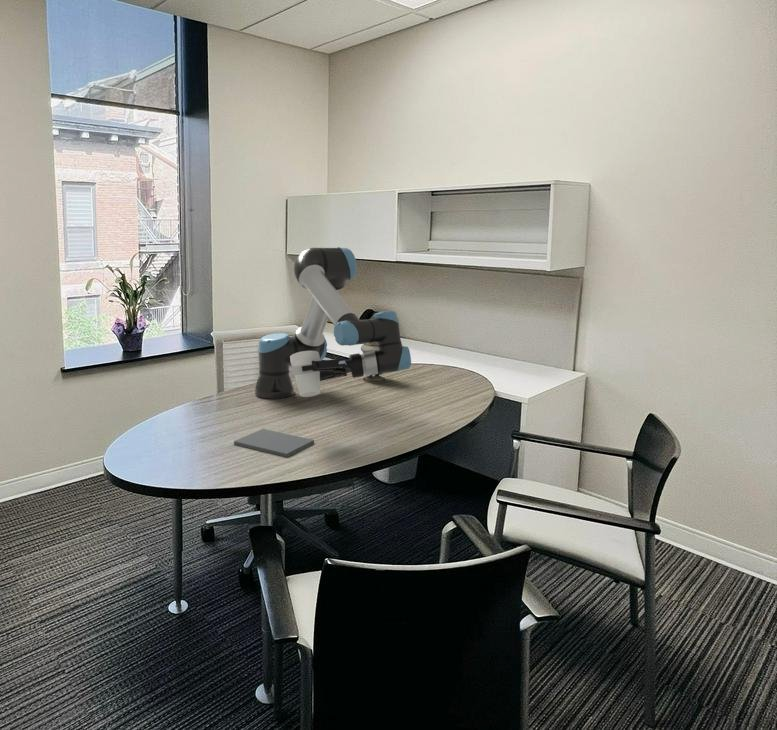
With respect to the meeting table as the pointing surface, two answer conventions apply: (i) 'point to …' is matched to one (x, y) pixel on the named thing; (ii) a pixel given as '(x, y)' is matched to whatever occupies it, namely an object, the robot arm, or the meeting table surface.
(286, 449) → the rubber mat
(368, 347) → the apothecary jar
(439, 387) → the meeting table surface
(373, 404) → the meeting table surface
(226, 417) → the meeting table surface
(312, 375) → the foam cup
